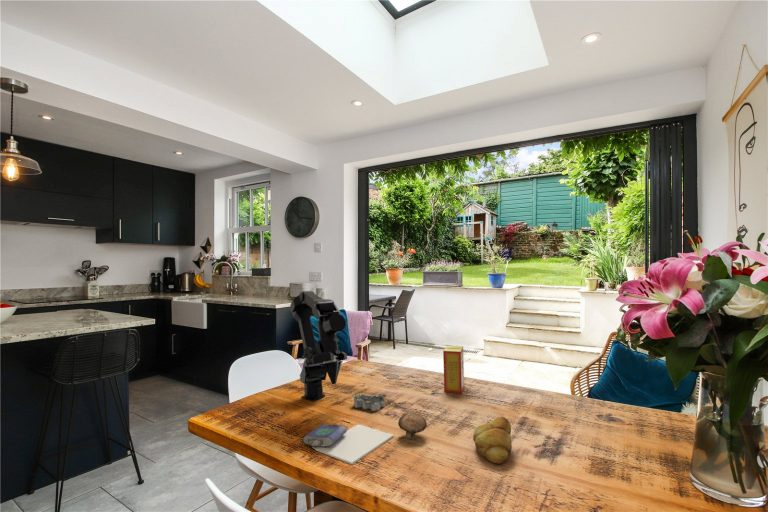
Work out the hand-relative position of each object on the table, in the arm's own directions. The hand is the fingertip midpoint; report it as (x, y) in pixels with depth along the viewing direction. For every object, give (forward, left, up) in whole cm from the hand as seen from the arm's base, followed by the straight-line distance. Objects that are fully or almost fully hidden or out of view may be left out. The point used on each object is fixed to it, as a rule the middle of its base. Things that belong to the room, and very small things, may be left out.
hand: (334, 384), depth 123 cm
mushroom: (+29, +1, -10) cm, 31 cm away
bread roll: (+52, +4, -10) cm, 53 cm away
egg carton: (+4, +13, -11) cm, 17 cm away
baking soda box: (+21, +45, -10) cm, 51 cm away
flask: (+10, -10, -8) cm, 16 cm away
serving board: (+18, -11, -10) cm, 24 cm away
